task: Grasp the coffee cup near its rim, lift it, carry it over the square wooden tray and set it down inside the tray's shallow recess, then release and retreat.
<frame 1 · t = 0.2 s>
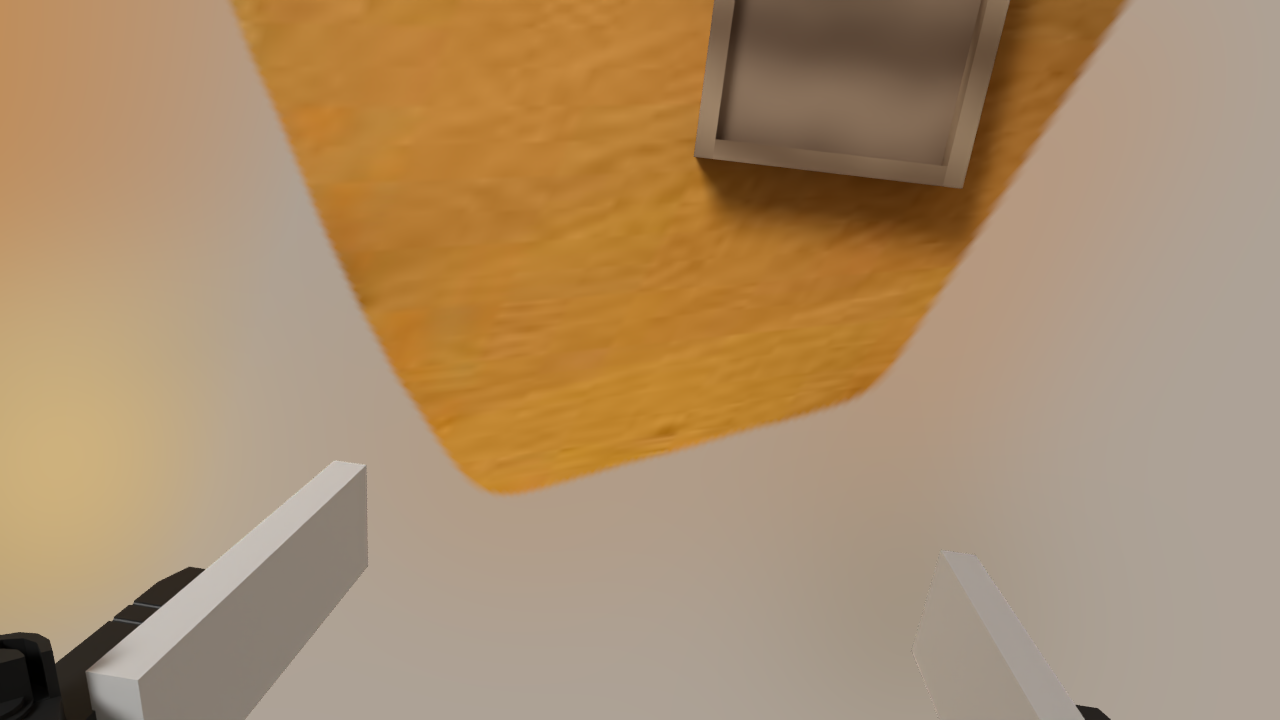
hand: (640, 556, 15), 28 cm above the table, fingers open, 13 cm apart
square wooden tray: (841, 37, 37), on the table
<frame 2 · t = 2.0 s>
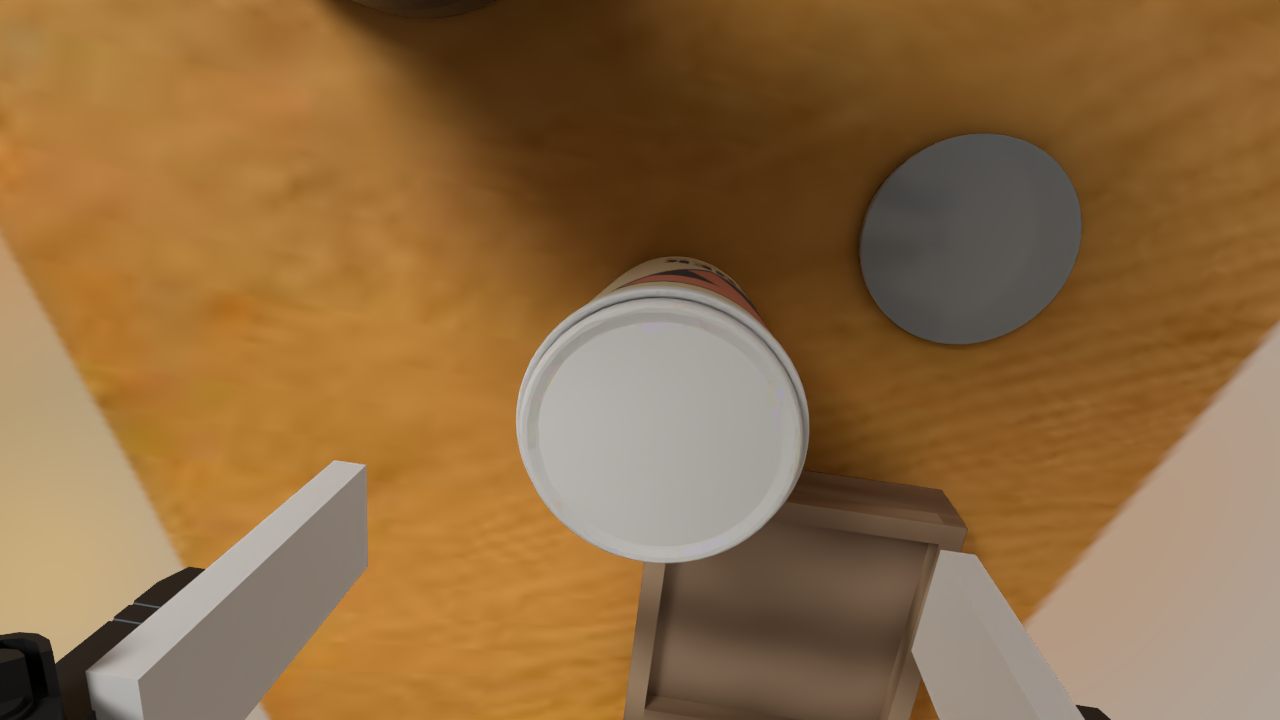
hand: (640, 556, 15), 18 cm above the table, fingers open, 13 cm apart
slate coaster: (964, 241, 30), on the table
coffee cup: (675, 334, 32), on the table
square wooden tray: (774, 587, 36), on the table
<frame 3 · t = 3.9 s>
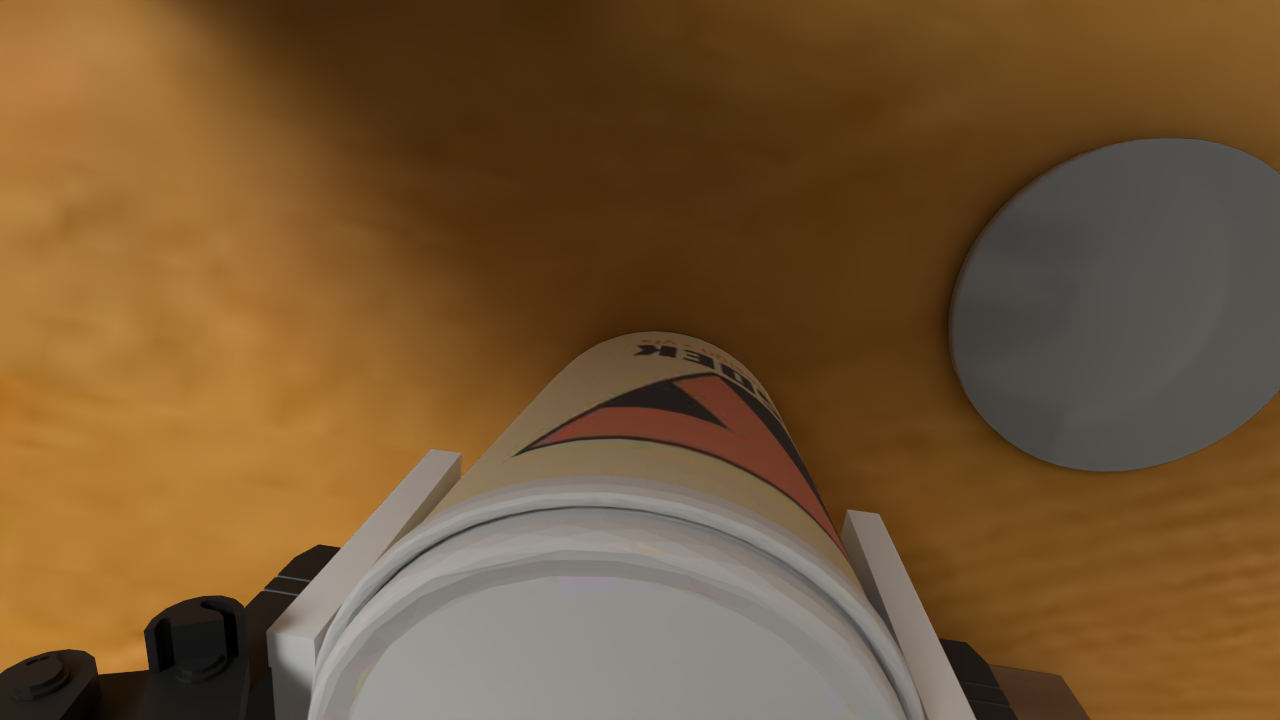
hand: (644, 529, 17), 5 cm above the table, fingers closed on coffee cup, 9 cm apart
slate coaster: (1120, 312, 18), on the table
coffee cup: (657, 446, 21), on the table, touching gripper
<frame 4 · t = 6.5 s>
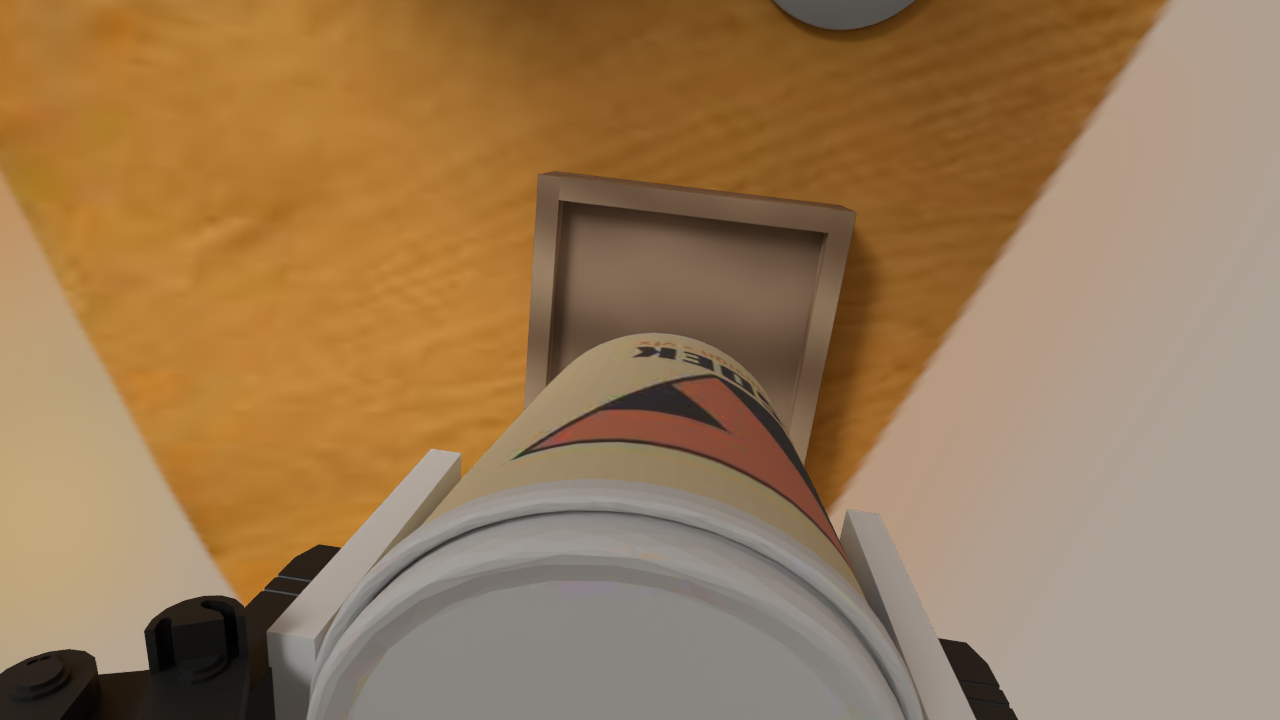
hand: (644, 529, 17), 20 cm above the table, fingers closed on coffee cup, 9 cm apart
coffee cup: (657, 448, 21), point 15 cm above the table, touching gripper
square wooden tray: (678, 326, 35), on the table
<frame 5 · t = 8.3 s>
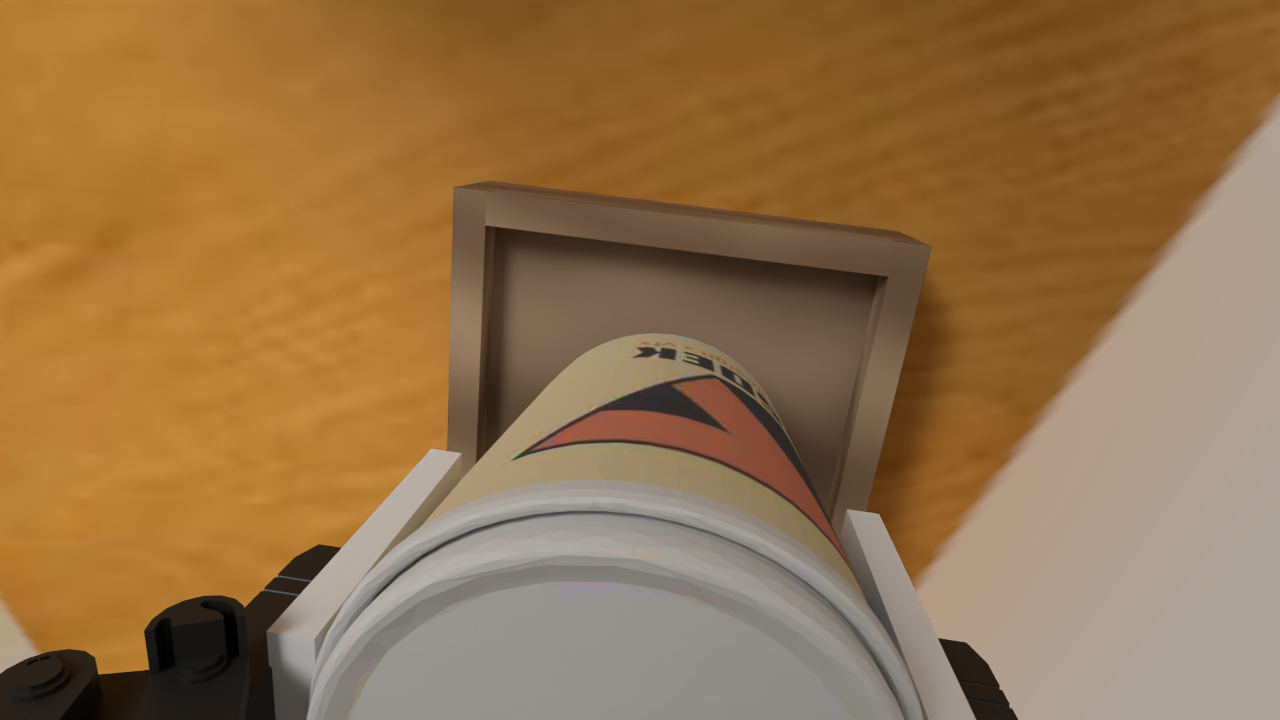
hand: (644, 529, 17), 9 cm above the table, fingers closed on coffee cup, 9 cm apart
coffee cup: (657, 448, 21), point 4 cm above the table, touching gripper
square wooden tray: (665, 396, 25), on the table
when the fingers open (8 cm above the table, at t = 9.4 s): coffee cup drops 1 cm, resting on square wooden tray.
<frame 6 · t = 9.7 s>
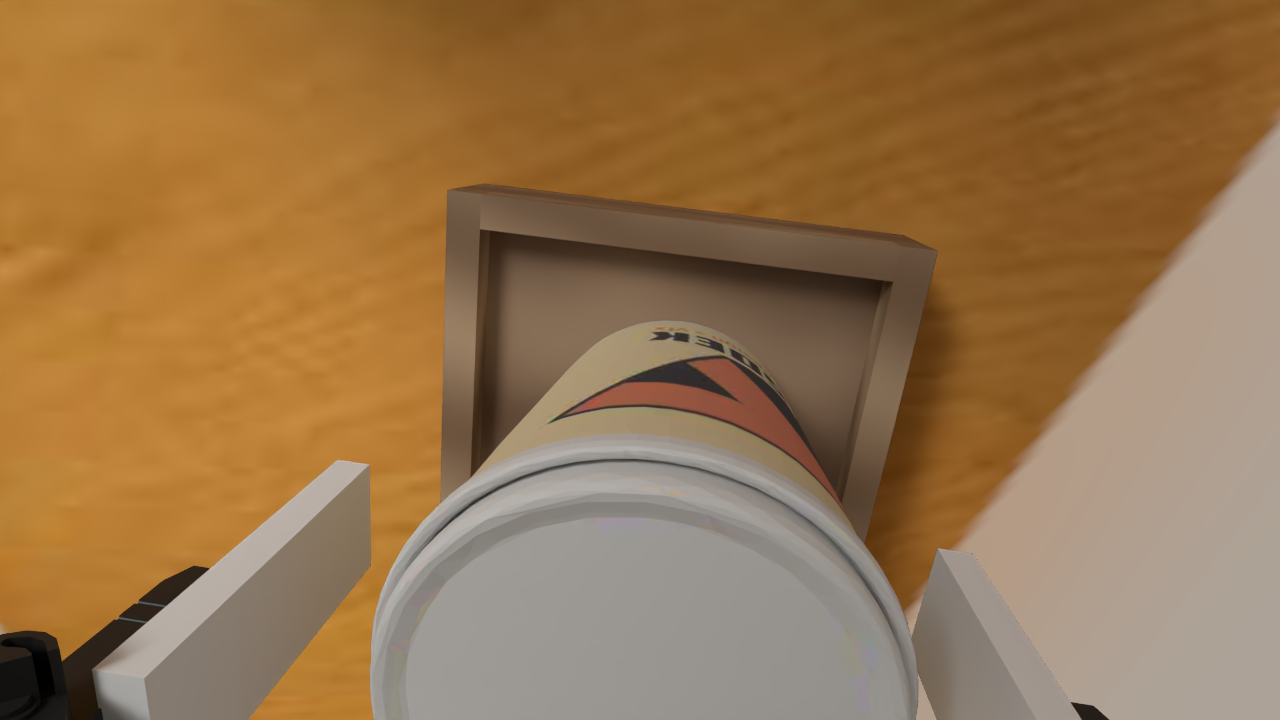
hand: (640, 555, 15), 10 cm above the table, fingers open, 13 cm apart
coffee cup: (669, 429, 22), point 2 cm above the table, touching square wooden tray
square wooden tray: (664, 403, 25), on the table
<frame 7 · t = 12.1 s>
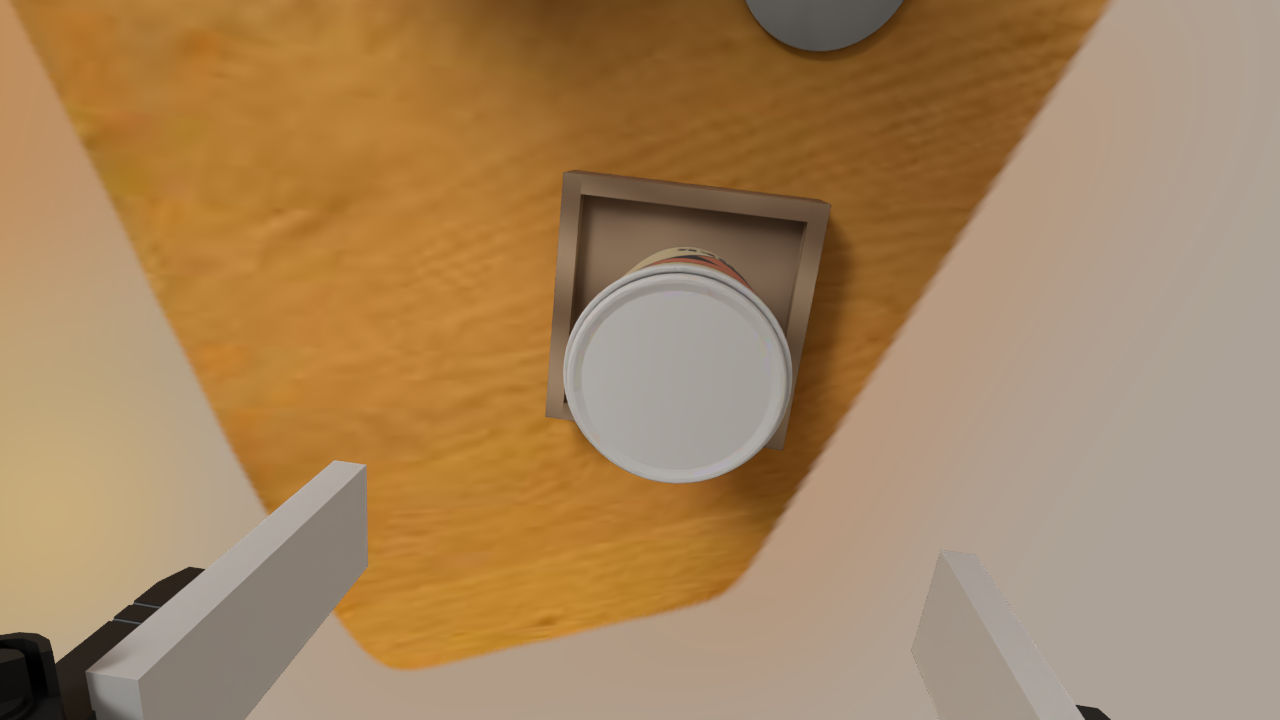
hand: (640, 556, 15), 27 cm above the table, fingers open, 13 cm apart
coffee cup: (684, 313, 38), point 2 cm above the table, touching square wooden tray
square wooden tray: (680, 304, 41), on the table
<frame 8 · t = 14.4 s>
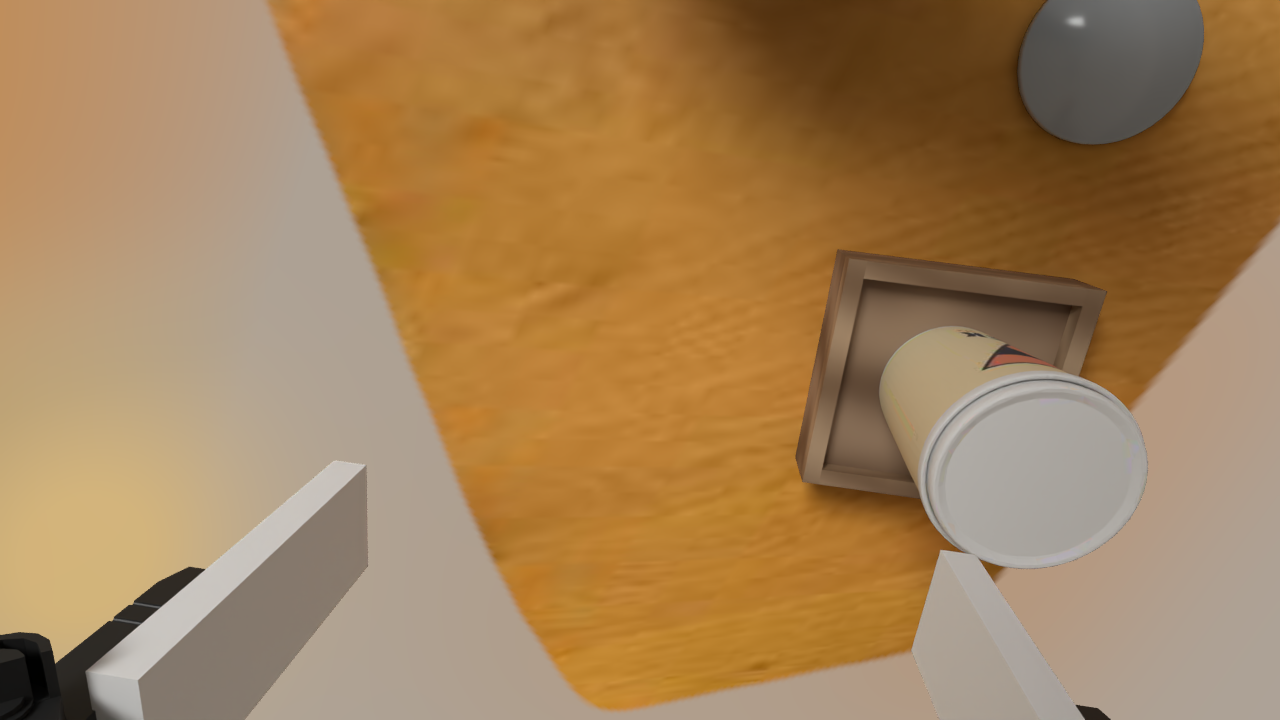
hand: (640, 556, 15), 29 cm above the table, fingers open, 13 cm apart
slate coaster: (1105, 57, 37), on the table
coffee cup: (943, 386, 41), point 2 cm above the table, touching square wooden tray
square wooden tray: (926, 373, 43), on the table
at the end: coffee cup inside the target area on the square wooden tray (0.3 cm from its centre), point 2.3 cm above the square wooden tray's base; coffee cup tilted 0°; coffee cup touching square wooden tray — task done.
